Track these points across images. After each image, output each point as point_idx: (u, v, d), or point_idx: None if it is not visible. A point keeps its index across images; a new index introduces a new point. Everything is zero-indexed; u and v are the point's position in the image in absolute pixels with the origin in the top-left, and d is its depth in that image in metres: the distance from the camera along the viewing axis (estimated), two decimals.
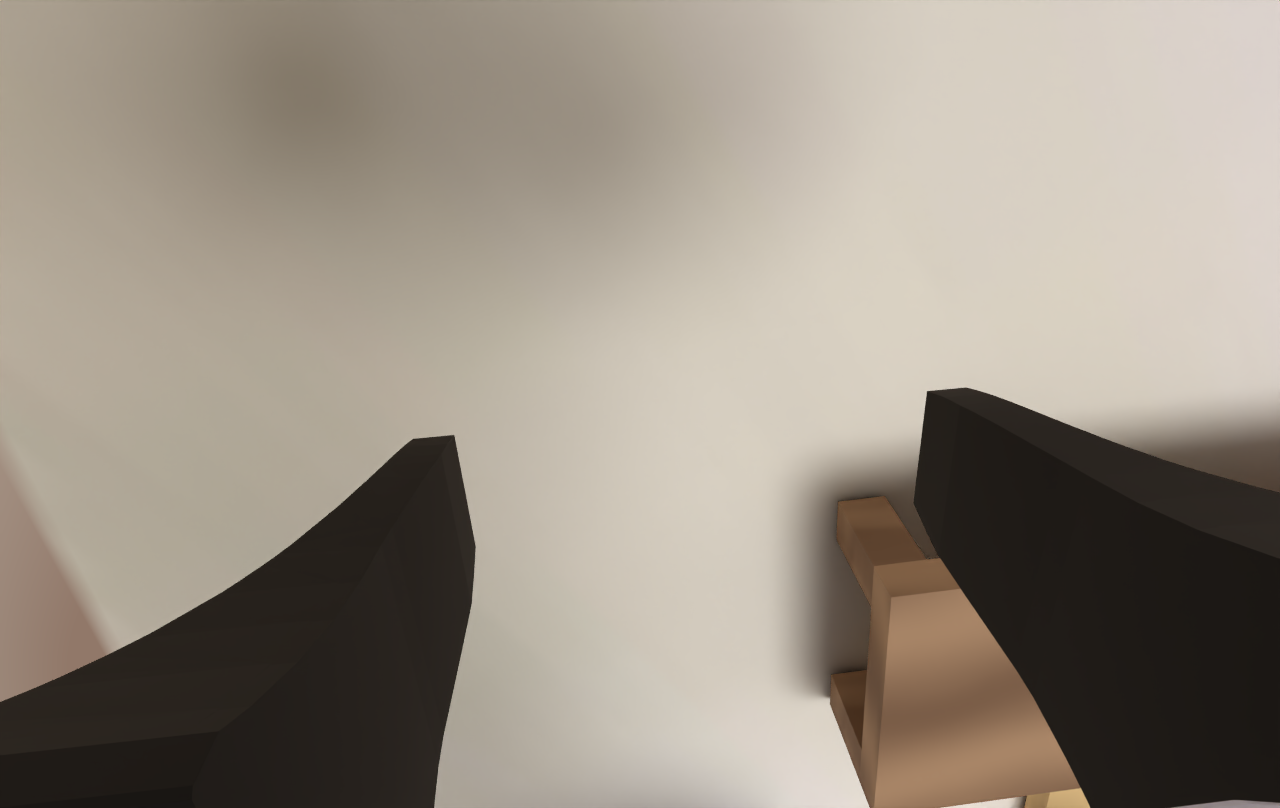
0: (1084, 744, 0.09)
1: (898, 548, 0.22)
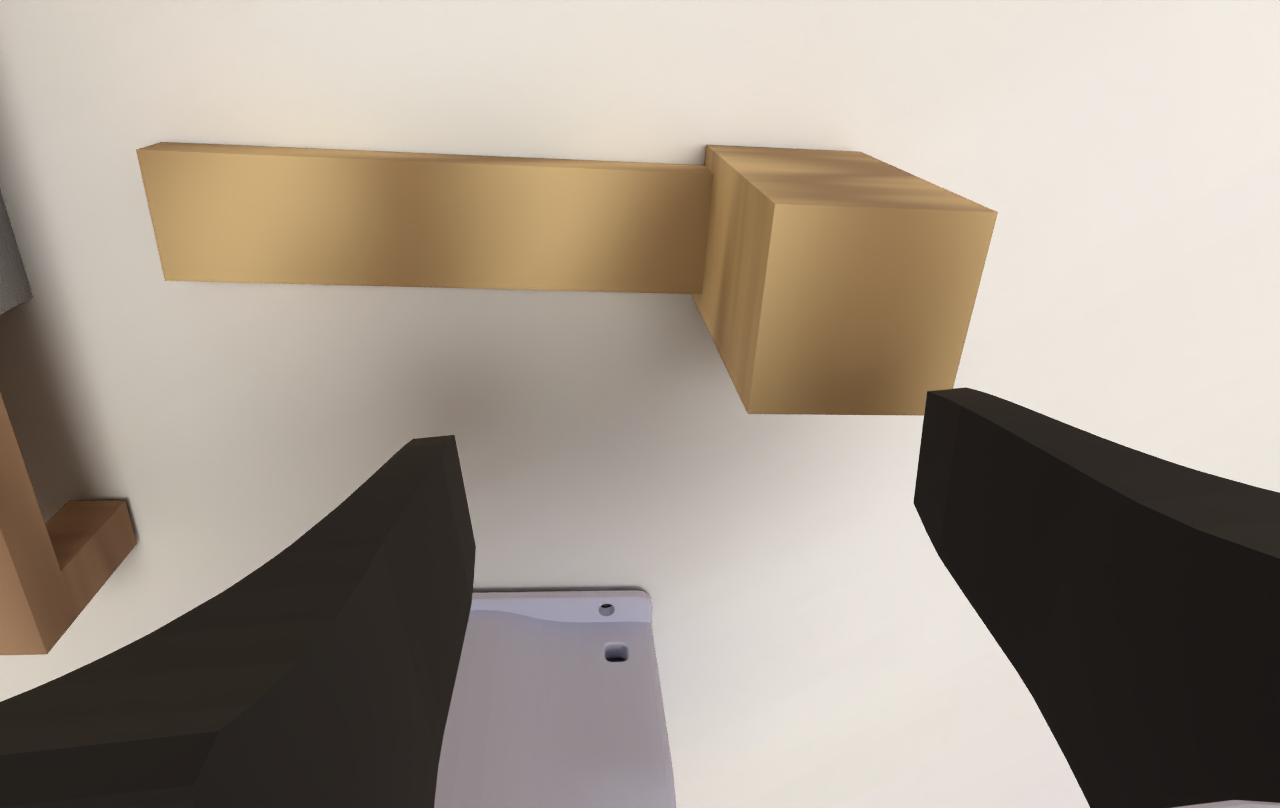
0: (1084, 744, 0.09)
1: None
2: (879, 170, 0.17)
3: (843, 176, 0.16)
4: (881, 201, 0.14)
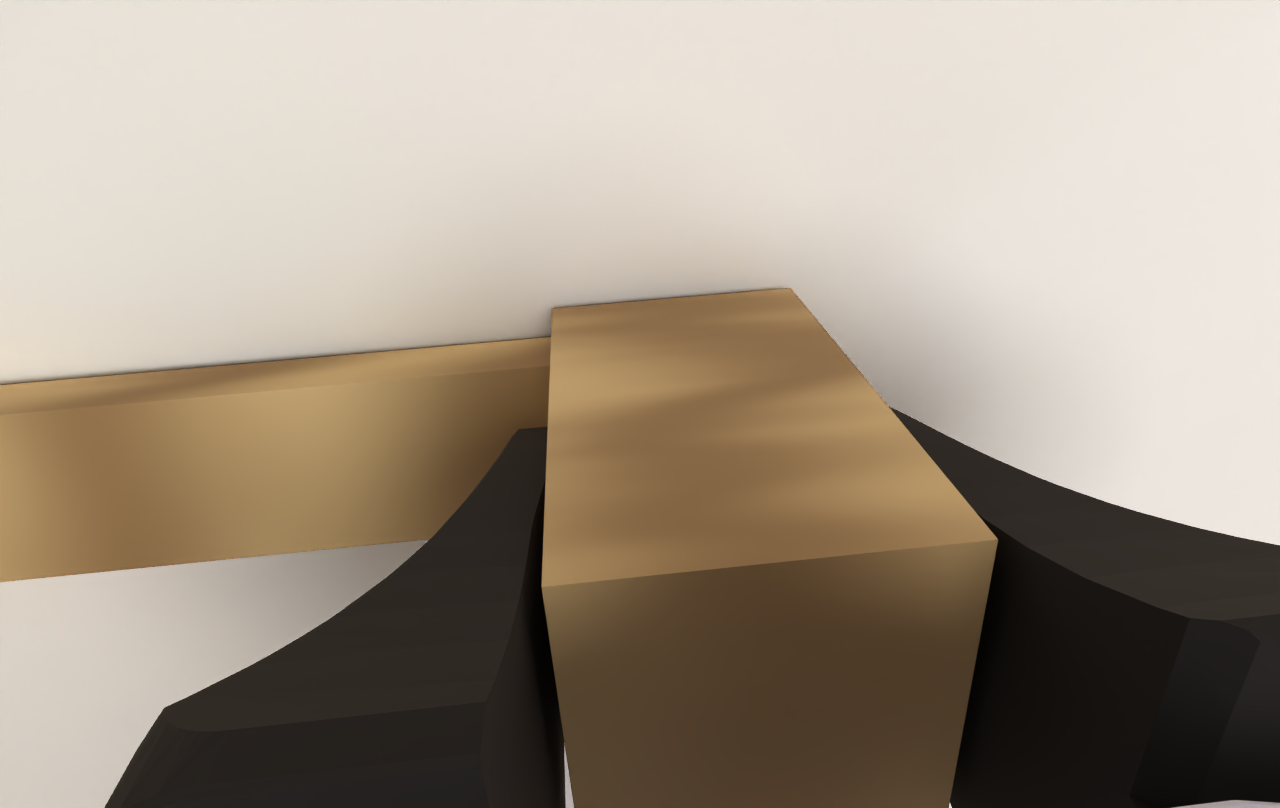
0: None
1: None
2: (802, 360, 0.10)
3: (731, 401, 0.09)
4: (768, 523, 0.07)
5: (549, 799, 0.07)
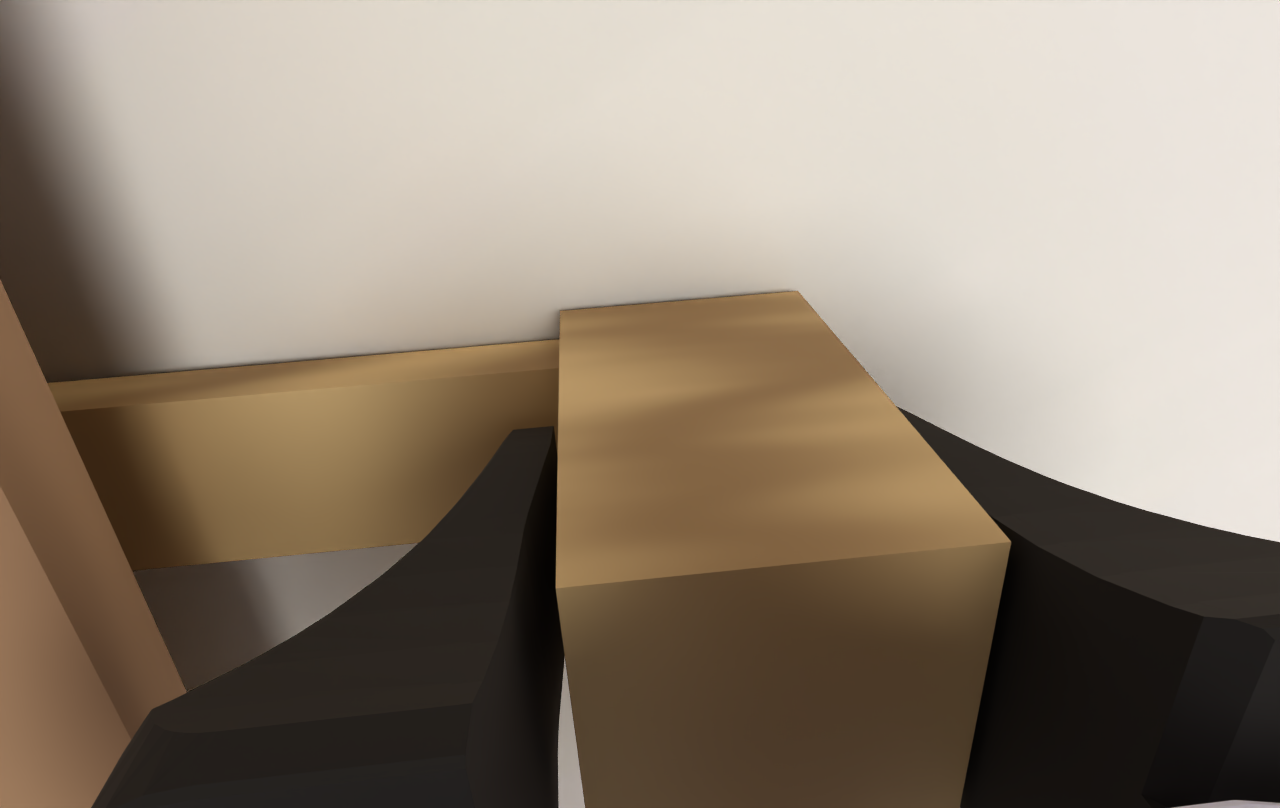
0: None
1: None
2: (811, 363, 0.10)
3: (741, 403, 0.09)
4: (781, 525, 0.07)
5: (541, 800, 0.07)
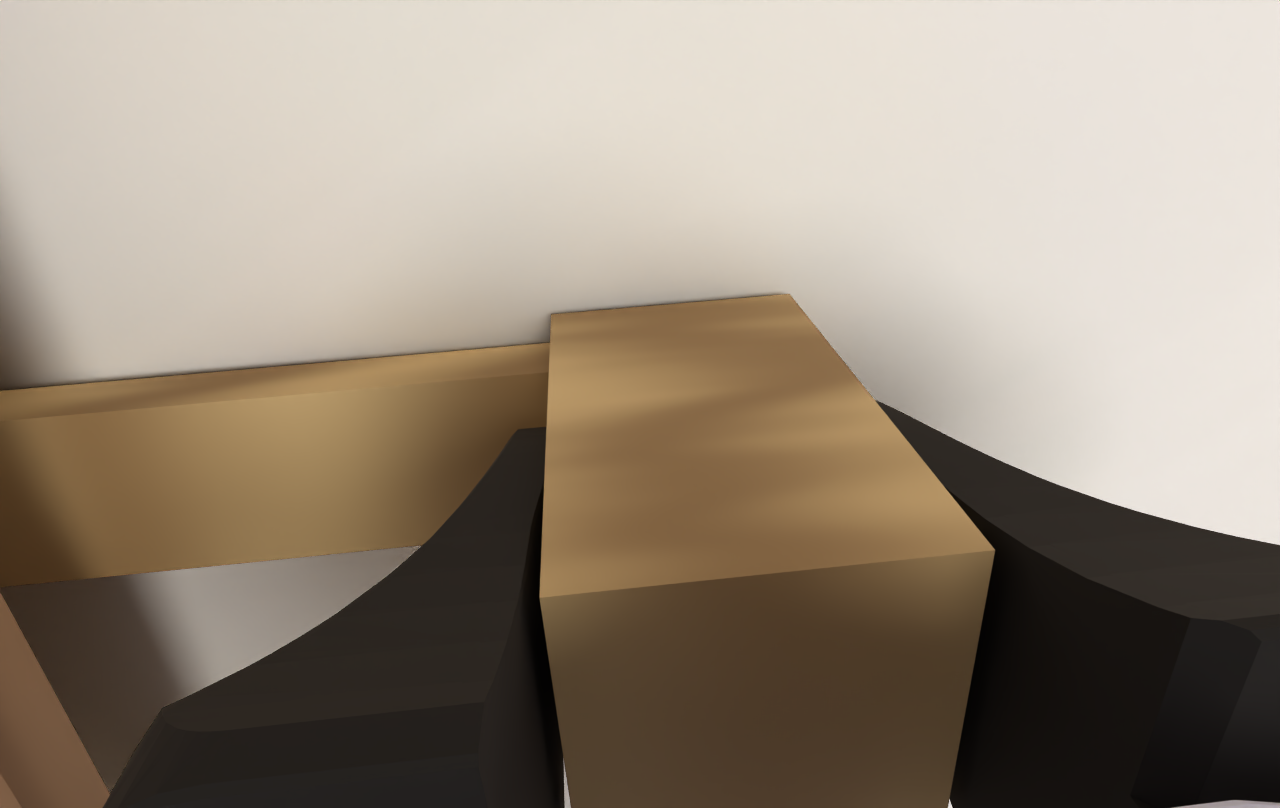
0: None
1: None
2: (800, 367, 0.10)
3: (729, 409, 0.09)
4: (766, 533, 0.07)
5: (548, 799, 0.07)
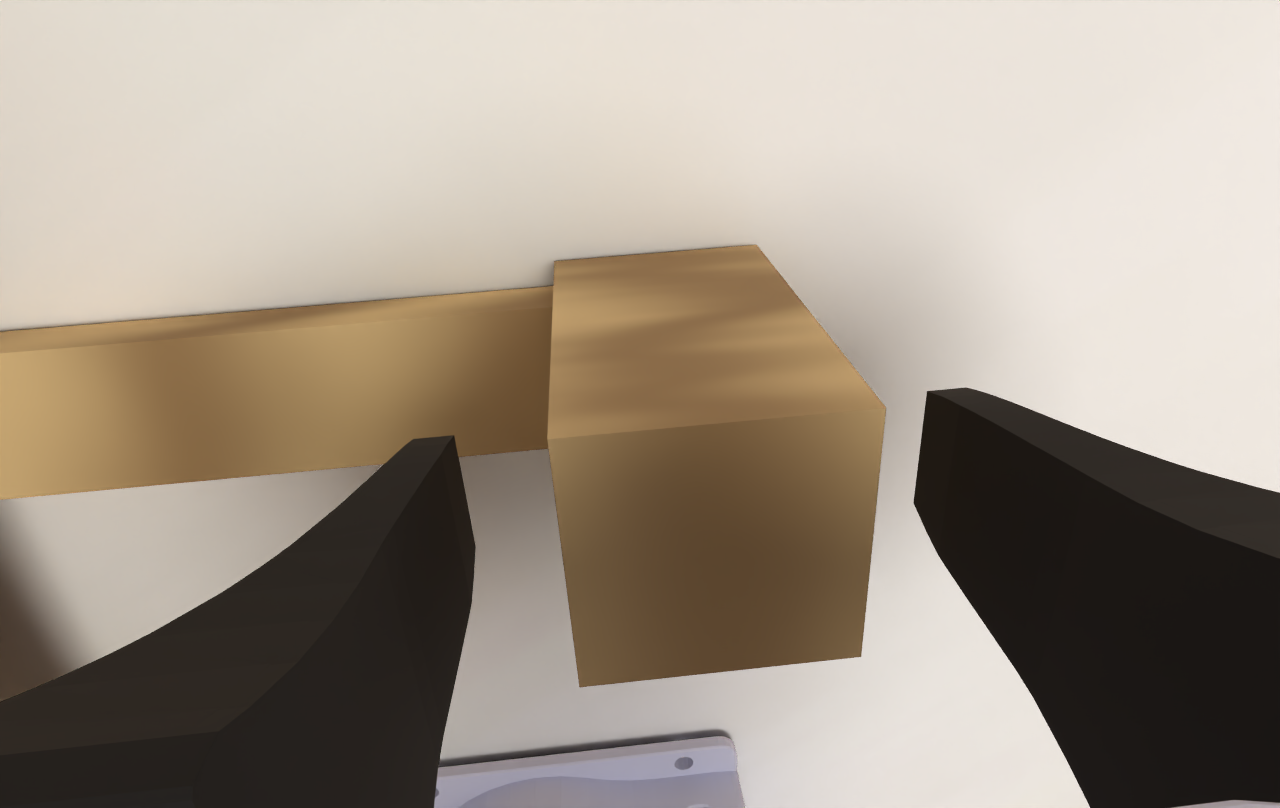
0: (1084, 744, 0.09)
1: None
2: (758, 296, 0.13)
3: (698, 324, 0.12)
4: (718, 400, 0.10)
5: None
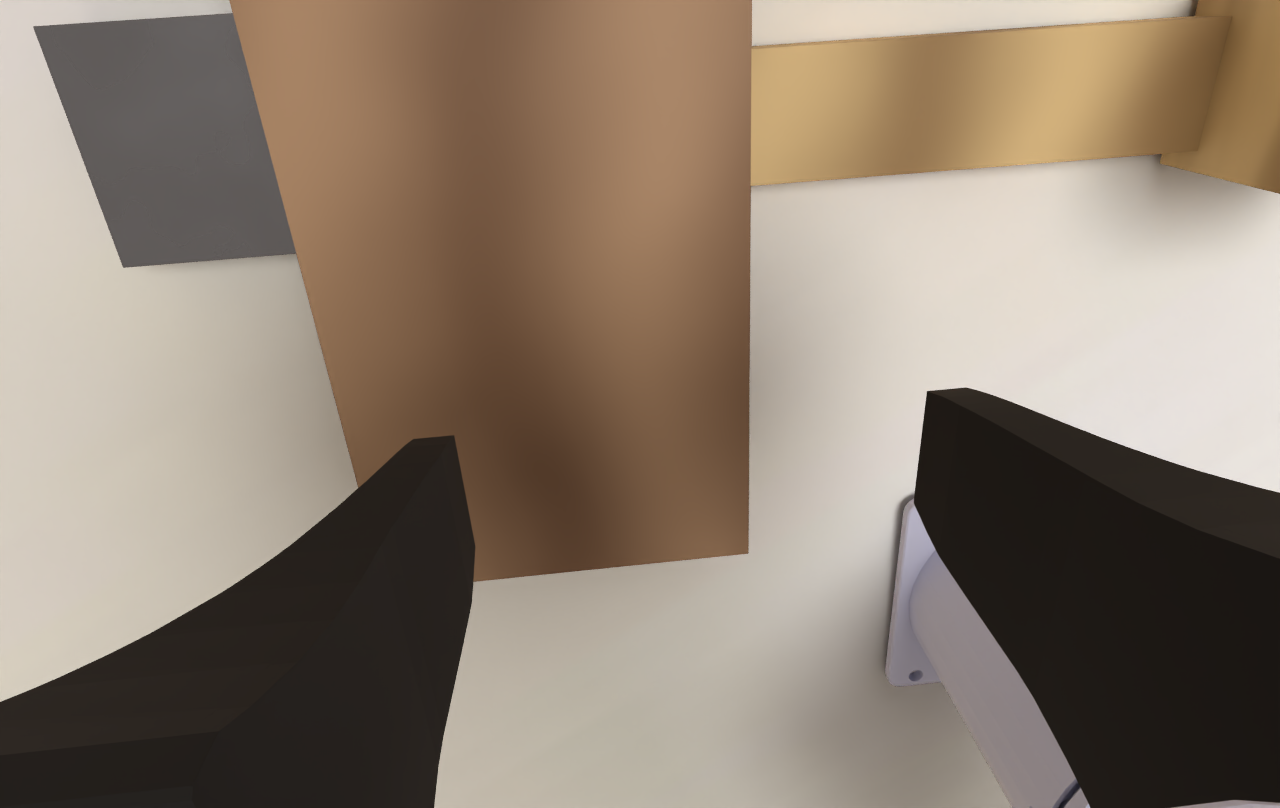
0: (1084, 744, 0.09)
1: None
2: None
3: None
4: None
5: None
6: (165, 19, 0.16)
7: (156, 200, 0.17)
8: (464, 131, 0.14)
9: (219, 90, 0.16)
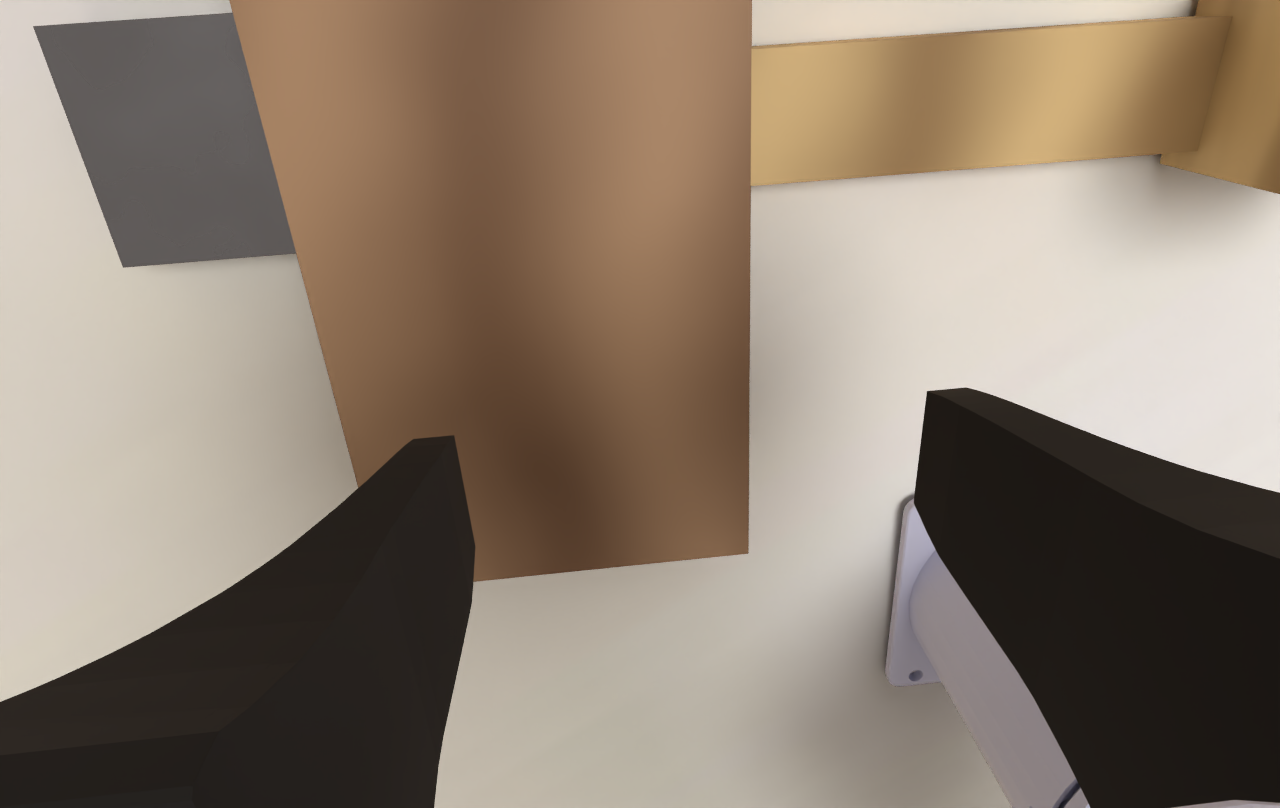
0: (1084, 744, 0.09)
1: None
2: None
3: None
4: None
5: None
6: (165, 19, 0.16)
7: (156, 200, 0.17)
8: (464, 131, 0.14)
9: (219, 90, 0.16)
